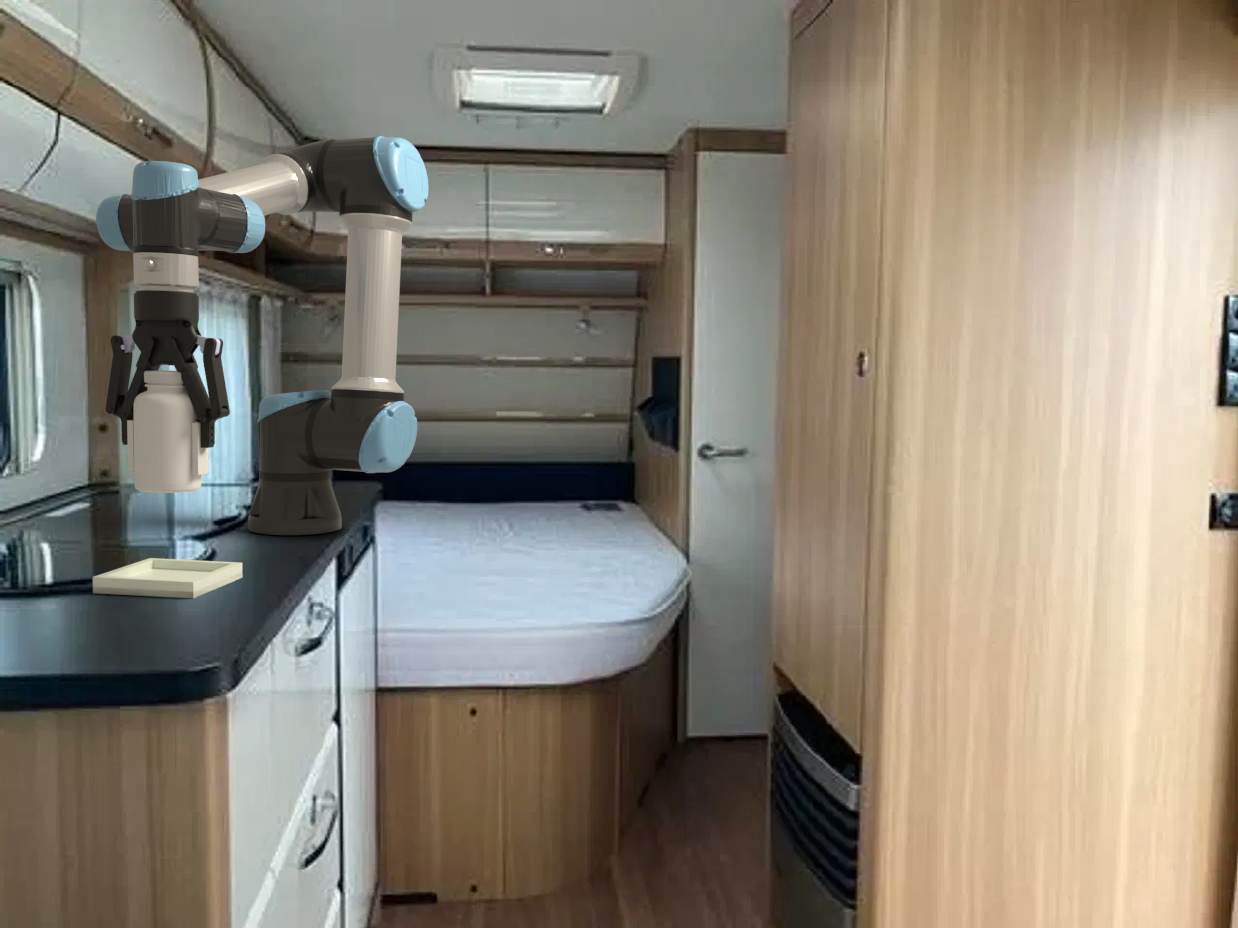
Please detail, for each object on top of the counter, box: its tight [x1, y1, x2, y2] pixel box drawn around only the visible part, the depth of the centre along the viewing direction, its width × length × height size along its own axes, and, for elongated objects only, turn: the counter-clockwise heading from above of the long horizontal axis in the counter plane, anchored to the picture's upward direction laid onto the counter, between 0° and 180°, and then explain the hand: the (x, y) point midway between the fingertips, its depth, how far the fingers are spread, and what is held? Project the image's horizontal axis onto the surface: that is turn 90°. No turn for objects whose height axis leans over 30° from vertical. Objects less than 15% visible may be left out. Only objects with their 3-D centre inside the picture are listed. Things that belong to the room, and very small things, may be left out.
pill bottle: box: [133, 369, 203, 494], centre depth 139 cm, size 8×8×15 cm
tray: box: [92, 557, 243, 599], centre depth 141 cm, size 13×13×2 cm
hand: (168, 472), depth 140 cm, fingers closed on pill bottle, 8 cm apart
